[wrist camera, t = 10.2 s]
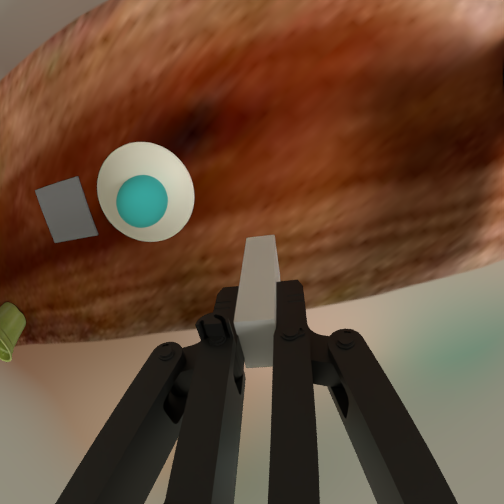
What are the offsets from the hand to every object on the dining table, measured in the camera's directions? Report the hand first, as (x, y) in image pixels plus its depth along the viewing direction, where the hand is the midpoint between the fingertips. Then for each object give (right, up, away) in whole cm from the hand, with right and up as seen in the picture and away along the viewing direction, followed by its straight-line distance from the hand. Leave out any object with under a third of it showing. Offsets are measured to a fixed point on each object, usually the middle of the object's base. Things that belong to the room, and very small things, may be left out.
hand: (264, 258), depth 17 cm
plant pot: (-47, -12, +29) cm, 56 cm away
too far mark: (-25, +6, +17) cm, 31 cm away
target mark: (-13, +7, +16) cm, 22 cm away
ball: (-12, +6, +13) cm, 19 cm away
